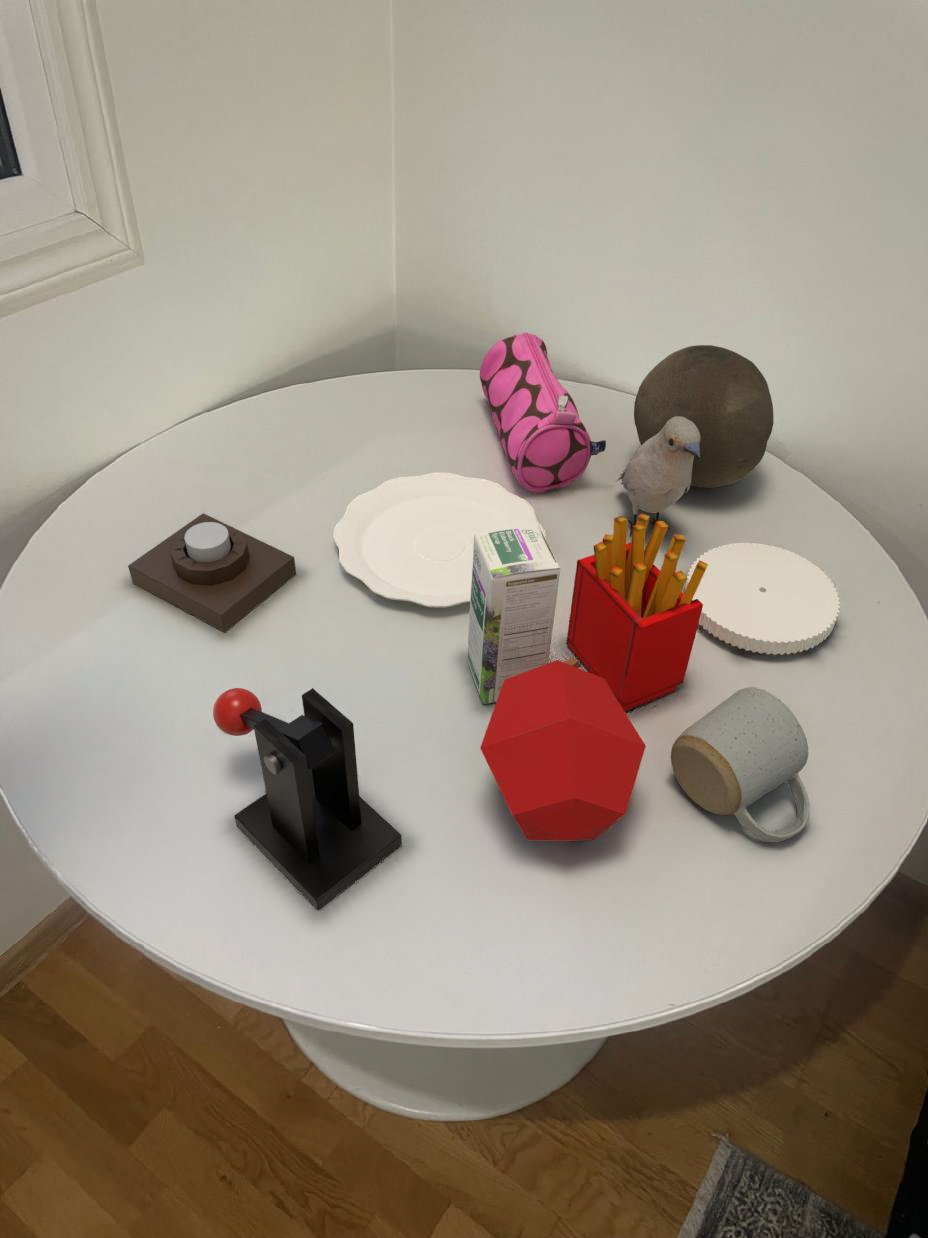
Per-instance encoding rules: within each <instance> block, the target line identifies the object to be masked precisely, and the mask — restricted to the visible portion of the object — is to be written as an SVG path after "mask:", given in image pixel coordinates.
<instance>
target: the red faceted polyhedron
mask: <svg viewBox="0 0 928 1238" xmlns="http://www.w3.org/2000/svg"><path fill="white" fill-rule="evenodd" d="M581 666H582V663H581V662H579V660H577V658H575V656H572V657H570V658H568V659H567V660H565V661H561V660H559V659H556V660H554V661H551V662H548V664H545V665H543V666H540V667H537V668H535V669H532V670H529V671H527V672H524V673H521V674H518V675H516V676H513V677H510V678H508V679H505V680H504V682H503V685H502V688H501V691H500V693H499V696H498V699H497V702H495V705H494V707H493V711H492V713H491V715H490V719H489V722H488V725H487V727H486V730H485V732H484V735H483V738H482V741H481V744H480V748H479V749H480V751H481V753H482V755H483V758H484V759H485V761H486V764H487V765H488V767H489V770H490V772H491V774H492V776H493V778H494V780H495V782H496V784H497V786H498V788H499V790H500V793H501V794H502V797H503V799H504V801H505V803H506V805H507V807H508V809H509V811H510V813H511V815H512V817H513V819H514V820H515V822H516V824H517V825H518V827H519V829H520V831H521V832H522V834H523V835H524V836H525V839H526V840H527V841H543V842H544V841H546V842H547V841H549V842H550V841H551V842H552V841H553V842H557V841H558V842H559V841H561V842H575V841H576V842H577V841H594V840H595V839H597V838H598V837H599V836H600V835H602V834H604V832H606V831H607V830H608V829H609V828H610V827H612V826H614V824H616V823H617V822H618V821H620V820H621V819H622V818H623V817H624V816H625V815H626V813H627V811H628V807H629V803H630V801H631V797H632V794H633V791H634V788H635V784H636V781H637V777H638V774H639V771H640V767H641V764H642V761H643V756H644V755H645V751H646V747H647V746H646V744H645V742H644V741H643V739H642V737H641V736H640V734H639V733H638V731H637V729H636V728H635V726H634V724H633V722H632V721H631V720H630V718H629V717H628V715H627V713H626V711H625V712H624V710H623V708H622V707H621V705H620V704H619V702H618V700H617V699H616V697H615V695H614V694H613V692H612V691H611V689H610V687H609V686H608V684H607V683H606V681H605V679H604V678H602V677H599V676H597V675H594V674H592V673H590V672H589V671H588V670H584V669H581V668H580V667H581Z"/></svg>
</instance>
